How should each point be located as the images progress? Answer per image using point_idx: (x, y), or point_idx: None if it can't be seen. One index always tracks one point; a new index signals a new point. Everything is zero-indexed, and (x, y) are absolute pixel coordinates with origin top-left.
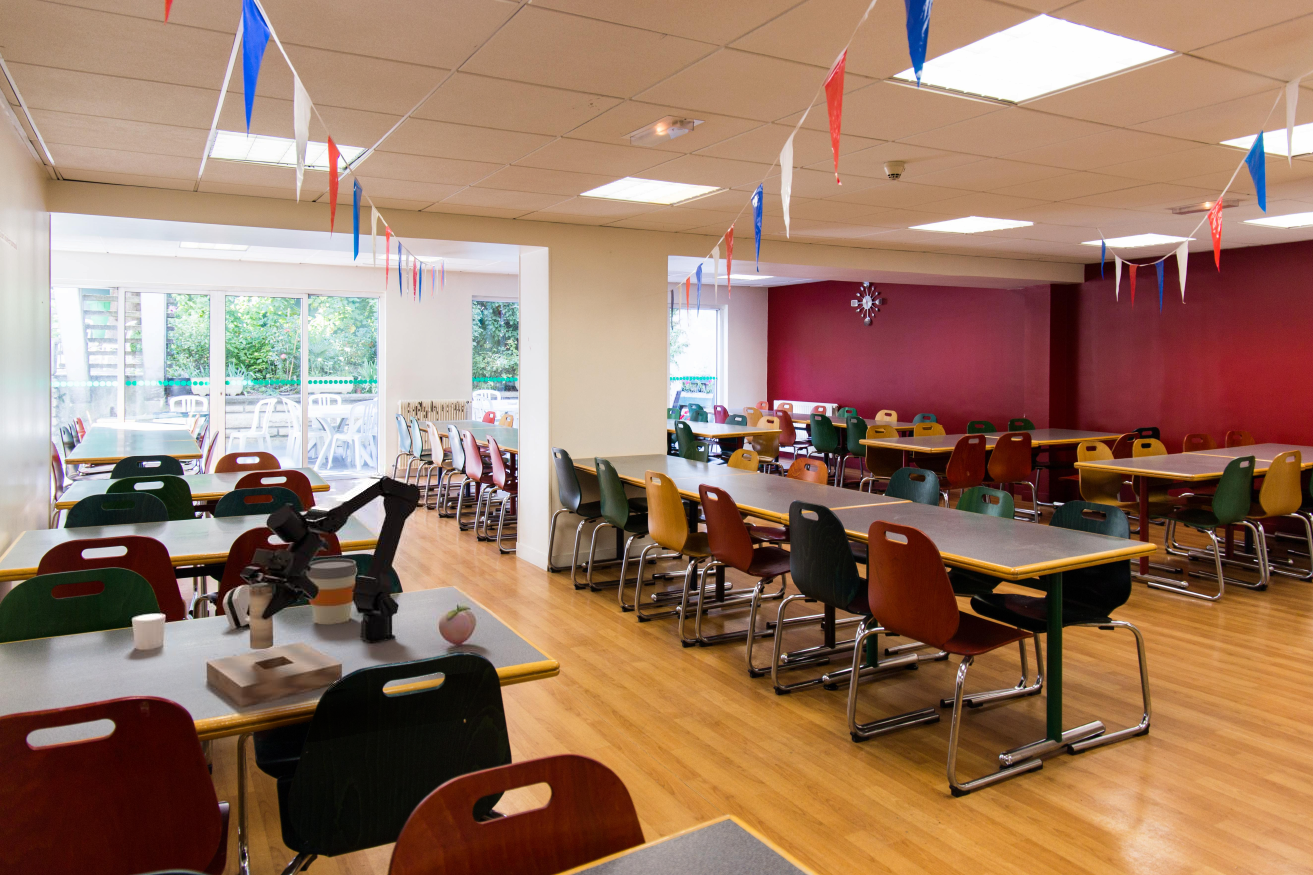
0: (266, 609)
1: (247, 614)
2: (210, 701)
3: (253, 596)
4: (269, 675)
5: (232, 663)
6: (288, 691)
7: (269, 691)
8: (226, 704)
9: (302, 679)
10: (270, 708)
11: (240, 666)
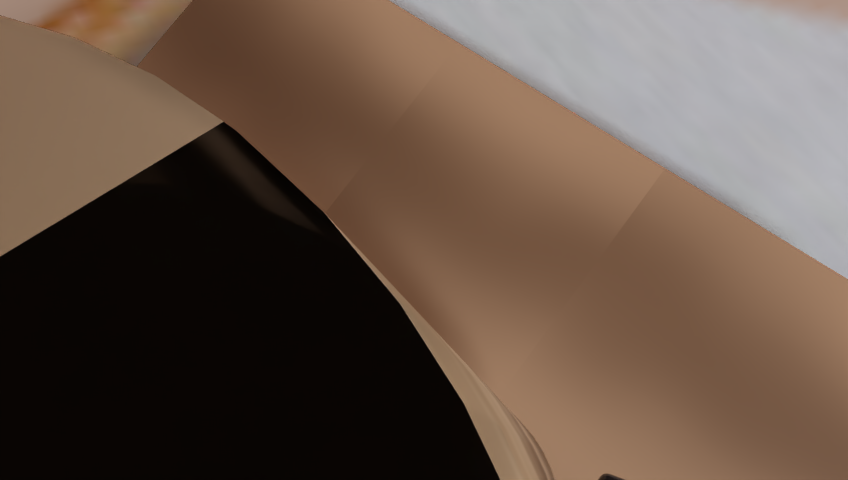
0: None
1: (605, 476)
2: (544, 28)
3: (175, 201)
4: None
5: (664, 351)
6: None
7: None
8: (416, 13)
9: None
10: (141, 25)
11: (534, 289)
